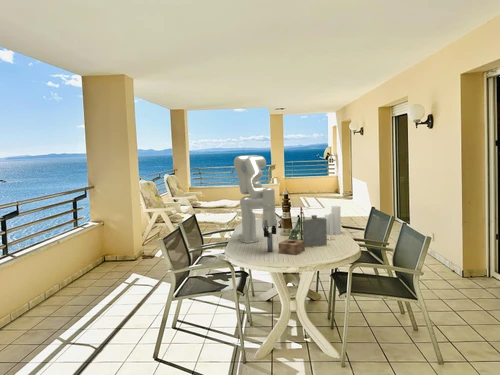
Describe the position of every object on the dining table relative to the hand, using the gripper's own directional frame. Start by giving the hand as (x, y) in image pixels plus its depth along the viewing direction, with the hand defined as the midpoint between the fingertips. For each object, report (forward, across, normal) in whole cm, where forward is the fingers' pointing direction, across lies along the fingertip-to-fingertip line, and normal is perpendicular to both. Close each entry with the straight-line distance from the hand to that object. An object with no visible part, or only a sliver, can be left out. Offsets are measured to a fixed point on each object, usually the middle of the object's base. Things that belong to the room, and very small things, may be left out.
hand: (270, 235), depth 244 cm
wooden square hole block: (+11, -7, +11) cm, 17 cm away
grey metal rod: (+10, -1, -1) cm, 10 cm away
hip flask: (+11, -27, +18) cm, 34 cm away
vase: (+10, -64, +17) cm, 67 cm away
